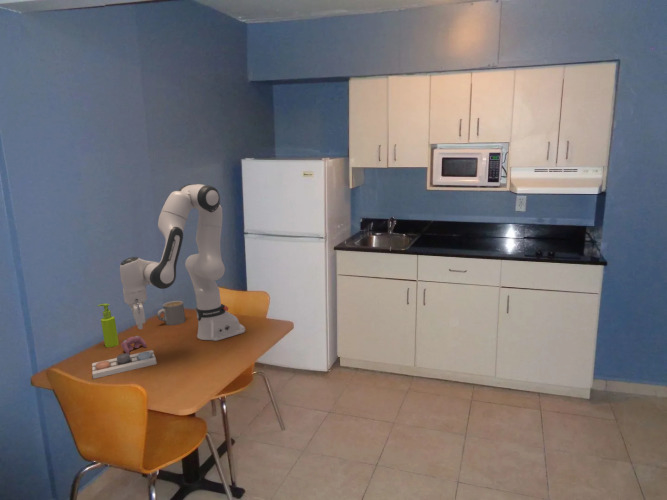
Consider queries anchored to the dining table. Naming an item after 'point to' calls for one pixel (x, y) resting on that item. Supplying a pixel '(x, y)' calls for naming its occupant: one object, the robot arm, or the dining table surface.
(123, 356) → the charcoal button
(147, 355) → the pale blue button
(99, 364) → the terracotta button
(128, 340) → the video game controller
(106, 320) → the soap dispenser
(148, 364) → the button board
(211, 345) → the dining table surface
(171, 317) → the coffee mug
